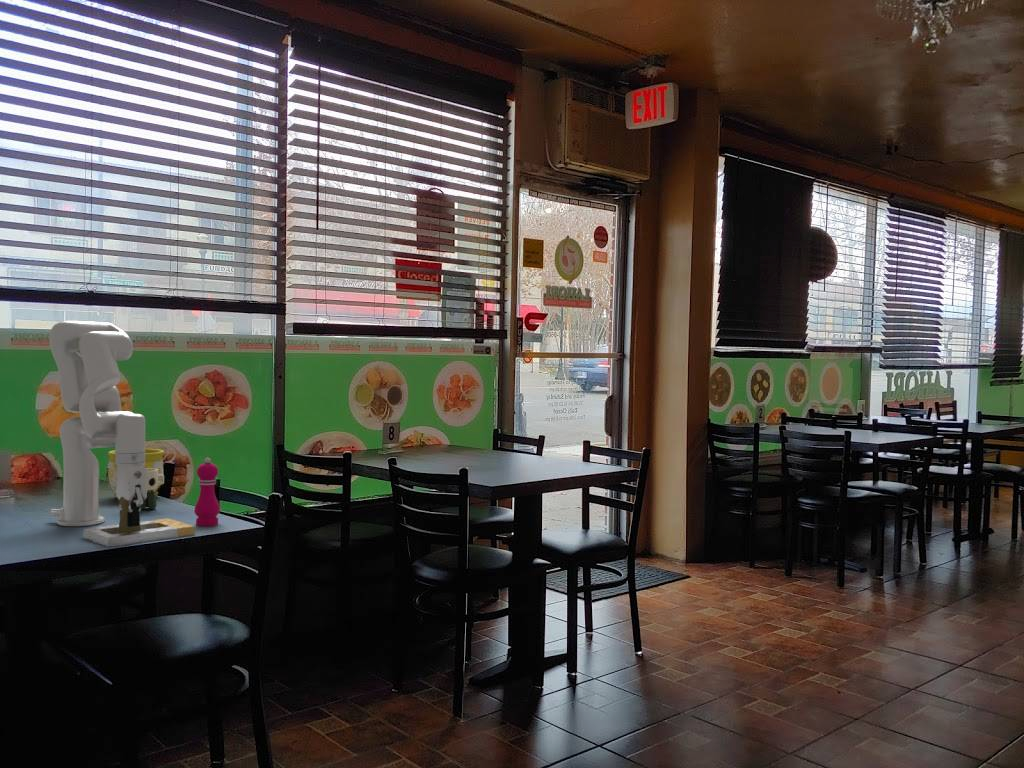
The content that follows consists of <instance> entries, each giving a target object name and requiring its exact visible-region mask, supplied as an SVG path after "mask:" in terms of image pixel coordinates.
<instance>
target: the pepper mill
mask: <svg viewBox="0 0 1024 768" xmlns="http://www.w3.org/2000/svg"><path fill="white" fill-rule="evenodd" d="M211 460H212V459H211V458H209V457H206V458H204V463H202V464H200V465H199V466H198V467H197V468H196V476H197V477H199V479H198V485H199V486H200V487H199V490H200V492H199V496H198V499H197V501H196V503H195V505H194V514H195V515H196V516H197V518H195V525H196V526H198V527H212V526H214V527H215V526H217V525H218V524H219V518H218V517H217V516H218V515H219V514H220V511H221V506H220V503H219V501H218V498H217V497H216V493H215V485H217V479H216V477H217V476H218V474H219V469H218V466H217V465H216V464H215V463H212V462H211Z"/></svg>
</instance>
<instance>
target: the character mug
mask: <svg viewBox="0 0 1024 768" xmlns="http://www.w3.org/2000/svg"><path fill="white" fill-rule="evenodd" d="M145 472H146V484H147V498H146V499H145V500H143V504H142V505H141V507H140V508H141V509H142V510H146V509H147V508H148V509H147V510H153V509H156V508H157V499H156V498H157V497H156V496H155V493H154V491H153V489H156V488H157V486H158V485H160V484H161V485H164V484H165V475H164V474H158V469H153V468H145ZM158 477H161V482H158ZM161 485H160V486H161Z"/></svg>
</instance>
